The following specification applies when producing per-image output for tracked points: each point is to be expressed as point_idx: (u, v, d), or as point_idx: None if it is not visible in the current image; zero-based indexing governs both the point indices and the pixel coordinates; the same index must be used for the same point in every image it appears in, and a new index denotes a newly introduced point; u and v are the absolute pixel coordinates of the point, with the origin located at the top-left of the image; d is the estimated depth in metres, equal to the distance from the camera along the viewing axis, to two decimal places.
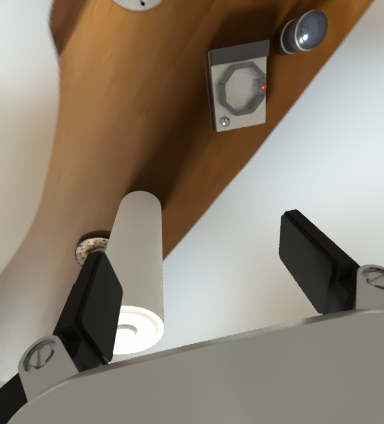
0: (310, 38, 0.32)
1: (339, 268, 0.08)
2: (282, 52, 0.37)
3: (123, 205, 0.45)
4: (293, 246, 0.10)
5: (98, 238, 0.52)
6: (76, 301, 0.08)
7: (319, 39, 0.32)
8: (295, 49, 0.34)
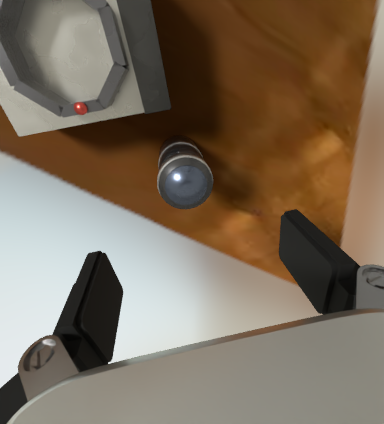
0: (174, 184, 0.17)
1: (339, 268, 0.08)
2: (160, 152, 0.22)
3: None
4: (293, 246, 0.10)
5: None
6: (76, 301, 0.08)
7: (174, 201, 0.18)
8: (160, 166, 0.19)
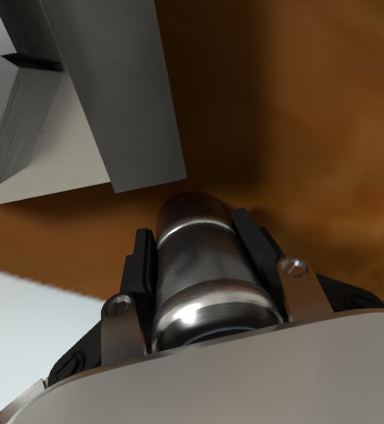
0: None
1: (263, 259, 0.09)
2: (159, 229, 0.12)
3: None
4: None
5: None
6: (139, 266, 0.09)
7: None
8: (158, 292, 0.08)
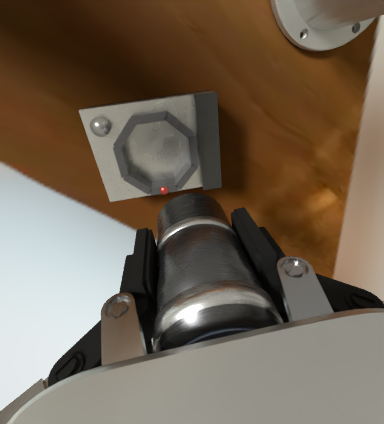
0: None
1: (264, 259, 0.09)
2: (159, 230, 0.12)
3: None
4: None
5: None
6: (139, 266, 0.09)
7: None
8: (159, 293, 0.08)
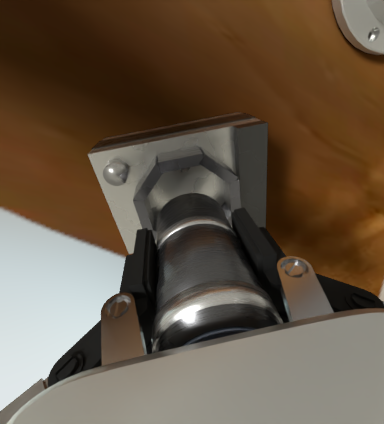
0: None
1: (264, 259, 0.09)
2: (159, 230, 0.12)
3: None
4: None
5: None
6: (139, 266, 0.09)
7: None
8: (159, 293, 0.08)
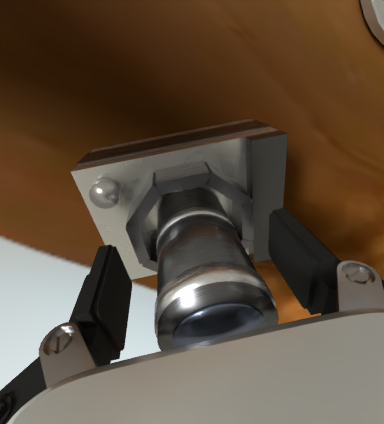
0: (194, 338, 0.08)
1: (320, 264, 0.08)
2: (160, 222, 0.12)
3: None
4: (280, 243, 0.11)
5: None
6: (91, 291, 0.08)
7: None
8: (160, 277, 0.09)
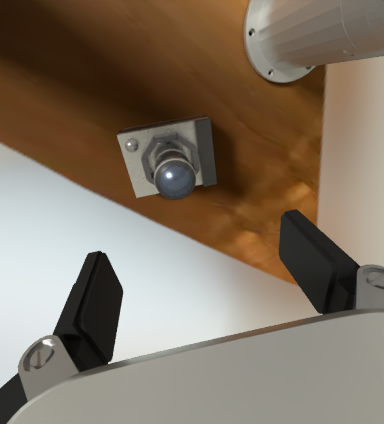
0: (167, 180, 0.23)
1: (339, 268, 0.08)
2: (156, 157, 0.28)
3: None
4: (293, 246, 0.10)
5: None
6: (76, 301, 0.08)
7: (167, 193, 0.24)
8: (156, 167, 0.25)
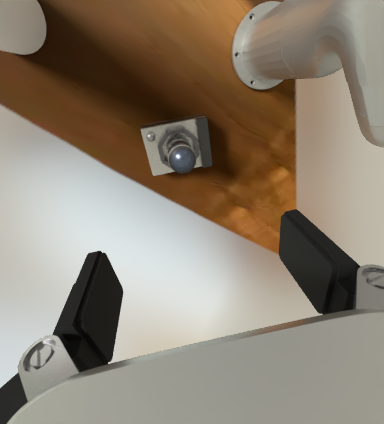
0: (176, 159, 0.35)
1: (339, 268, 0.08)
2: (168, 145, 0.39)
3: None
4: (293, 246, 0.10)
5: None
6: (76, 301, 0.08)
7: (176, 168, 0.35)
8: (169, 151, 0.36)
